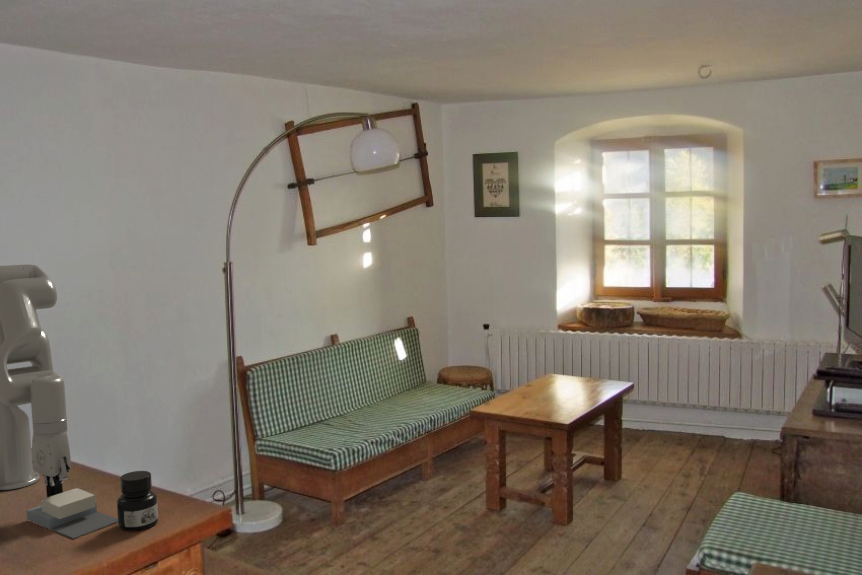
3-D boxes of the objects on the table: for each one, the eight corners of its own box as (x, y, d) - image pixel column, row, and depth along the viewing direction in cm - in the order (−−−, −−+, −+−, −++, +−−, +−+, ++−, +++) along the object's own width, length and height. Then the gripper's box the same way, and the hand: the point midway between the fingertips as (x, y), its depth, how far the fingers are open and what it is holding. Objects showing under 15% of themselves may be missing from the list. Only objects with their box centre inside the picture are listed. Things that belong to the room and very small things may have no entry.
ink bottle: (128, 536, 176) (125, 485, 175) (109, 526, 182) (106, 477, 181) (167, 522, 184) (164, 473, 182) (147, 513, 189) (145, 466, 188)
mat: (50, 529, 180) (50, 528, 180) (97, 512, 190) (97, 511, 190) (73, 539, 175) (73, 538, 175) (121, 521, 185) (120, 520, 185)
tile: (41, 511, 185) (41, 499, 185) (77, 499, 192) (77, 488, 192) (59, 519, 180) (58, 506, 180) (95, 506, 188) (94, 495, 187)
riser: (27, 520, 186) (26, 510, 186) (74, 504, 196) (73, 494, 196) (49, 529, 181) (49, 519, 180) (96, 512, 190) (96, 502, 190)
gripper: (18, 426, 189) (24, 498, 191) (51, 435, 180) (57, 511, 182) (48, 419, 195) (53, 489, 197) (81, 427, 187) (86, 500, 188)
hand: (55, 499), depth 190 cm, fingers closed
